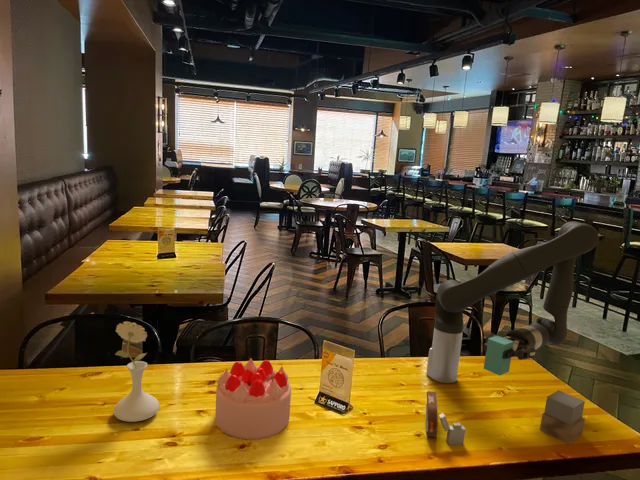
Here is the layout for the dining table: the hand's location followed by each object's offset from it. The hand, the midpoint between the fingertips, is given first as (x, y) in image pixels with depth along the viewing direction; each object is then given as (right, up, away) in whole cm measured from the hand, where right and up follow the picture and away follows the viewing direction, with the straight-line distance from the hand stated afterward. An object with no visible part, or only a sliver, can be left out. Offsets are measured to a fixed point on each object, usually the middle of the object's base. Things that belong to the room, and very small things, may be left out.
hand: (494, 351), depth 128 cm
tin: (-18, -20, -2) cm, 27 cm away
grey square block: (+19, -17, -1) cm, 25 cm away
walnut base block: (+18, -22, 0) cm, 29 cm away
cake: (-67, -17, -4) cm, 69 cm away
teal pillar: (+2, -6, +3) cm, 7 cm away
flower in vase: (-98, -15, -6) cm, 99 cm away
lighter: (-15, -21, -9) cm, 28 cm away
